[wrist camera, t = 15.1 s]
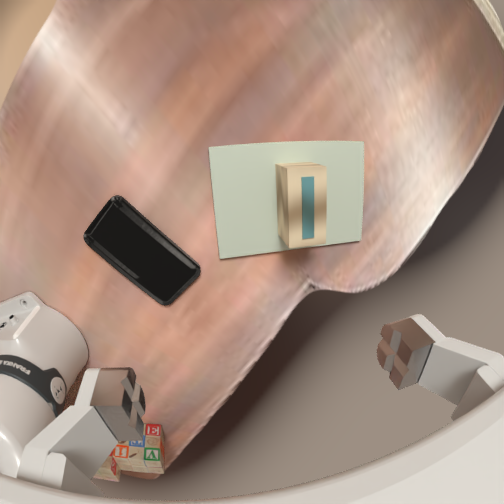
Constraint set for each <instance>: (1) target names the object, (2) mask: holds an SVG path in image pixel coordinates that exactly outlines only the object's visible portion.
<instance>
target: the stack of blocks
mask: <svg viewBox="0 0 504 504" xmlns="http://www.w3.org/2000/svg"><path fill="white" fill-rule="evenodd" d="M120 470H127V471H135V472H146V473H161V474H164V437H163V431H162V427H161V425H157V424H145V423H144V432H143V441H118V444H117V445H116V446H115V448H114V449H113V450H112V452H111V453H110V455H109V456H108V457H107V459H106V460H105V461H104V463H103V464H102V466H101V467H100V468H99V470H98V471H97V472H96V474H95V475H94V477H93V478H97V479H103V480H104V479H105V480H110V481H117V482H119V479H120Z"/></svg>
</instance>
